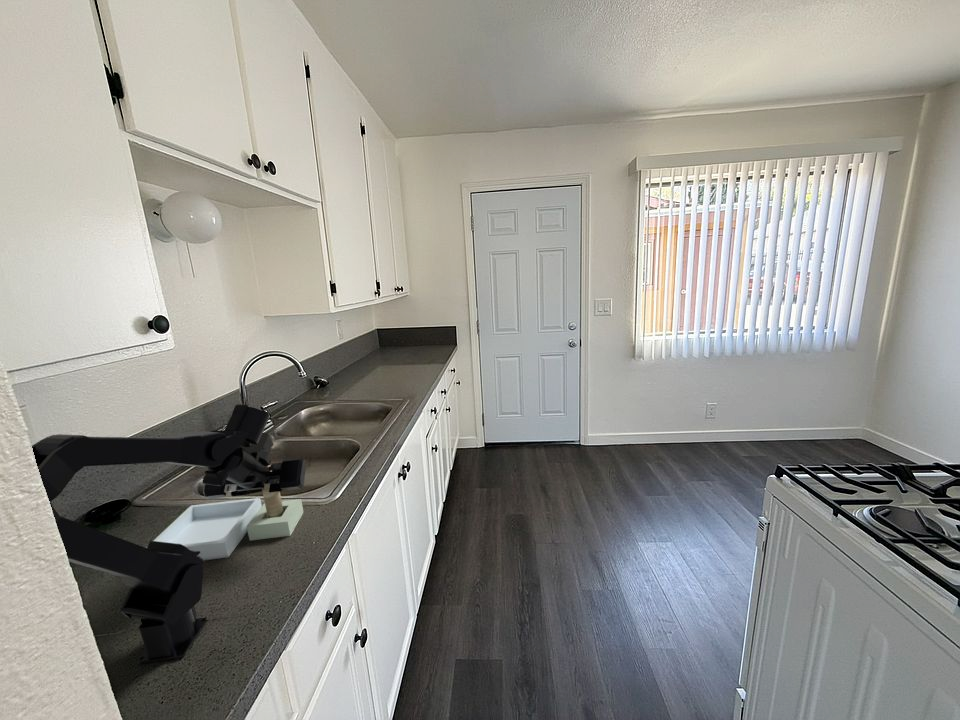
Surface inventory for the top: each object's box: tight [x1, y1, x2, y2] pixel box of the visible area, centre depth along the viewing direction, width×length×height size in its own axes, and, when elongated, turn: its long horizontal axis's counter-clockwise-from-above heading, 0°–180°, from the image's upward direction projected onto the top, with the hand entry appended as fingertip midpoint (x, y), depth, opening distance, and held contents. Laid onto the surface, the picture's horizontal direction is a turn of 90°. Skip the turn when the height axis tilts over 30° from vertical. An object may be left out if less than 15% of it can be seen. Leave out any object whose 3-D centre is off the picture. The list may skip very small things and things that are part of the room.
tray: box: [145, 497, 263, 561], centre depth 83 cm, size 16×16×4 cm
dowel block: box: [247, 498, 304, 541], centre depth 86 cm, size 8×8×4 cm
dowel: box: [262, 464, 284, 518], centre depth 84 cm, size 3×3×12 cm
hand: (273, 487), depth 86 cm, fingers closed on dowel, 3 cm apart
